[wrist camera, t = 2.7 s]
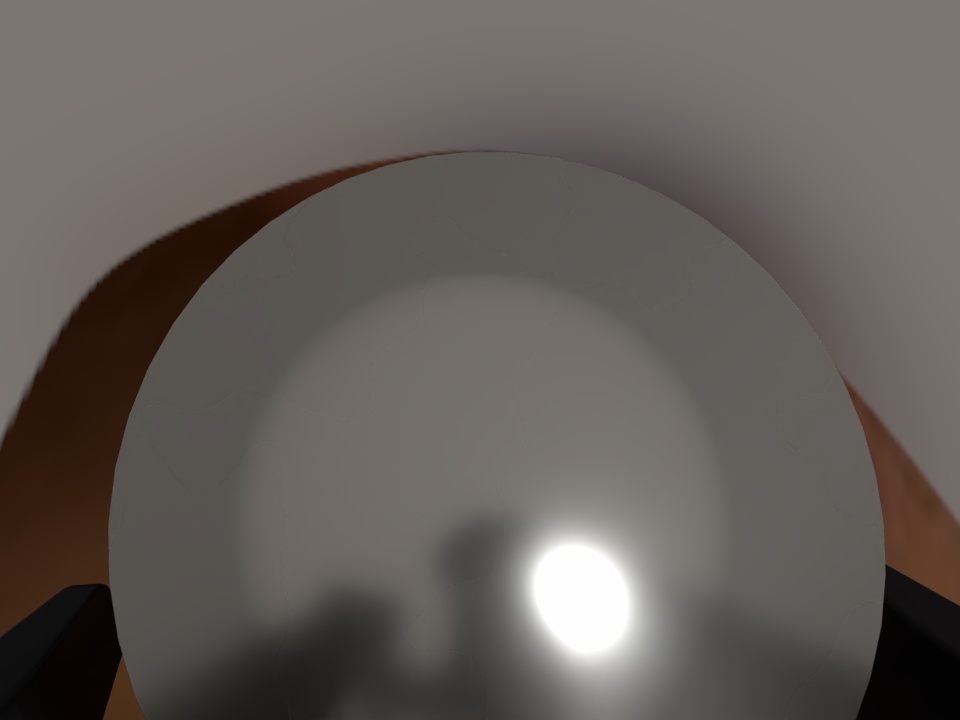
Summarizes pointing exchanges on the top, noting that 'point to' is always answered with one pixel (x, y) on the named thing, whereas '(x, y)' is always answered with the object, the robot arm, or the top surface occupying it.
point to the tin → (494, 468)
